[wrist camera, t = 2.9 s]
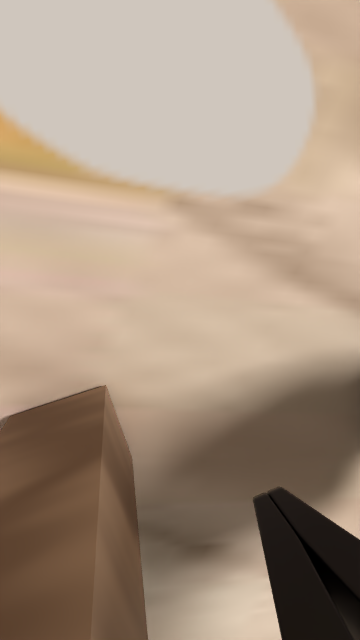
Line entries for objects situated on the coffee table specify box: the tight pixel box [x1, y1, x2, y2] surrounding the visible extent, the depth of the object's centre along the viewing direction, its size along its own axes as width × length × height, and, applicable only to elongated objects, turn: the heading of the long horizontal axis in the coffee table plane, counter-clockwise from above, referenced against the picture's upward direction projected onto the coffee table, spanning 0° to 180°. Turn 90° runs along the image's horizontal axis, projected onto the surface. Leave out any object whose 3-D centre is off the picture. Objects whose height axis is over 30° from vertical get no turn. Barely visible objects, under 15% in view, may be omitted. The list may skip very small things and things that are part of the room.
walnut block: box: [0, 385, 148, 640], centre depth 8 cm, size 4×4×9 cm
